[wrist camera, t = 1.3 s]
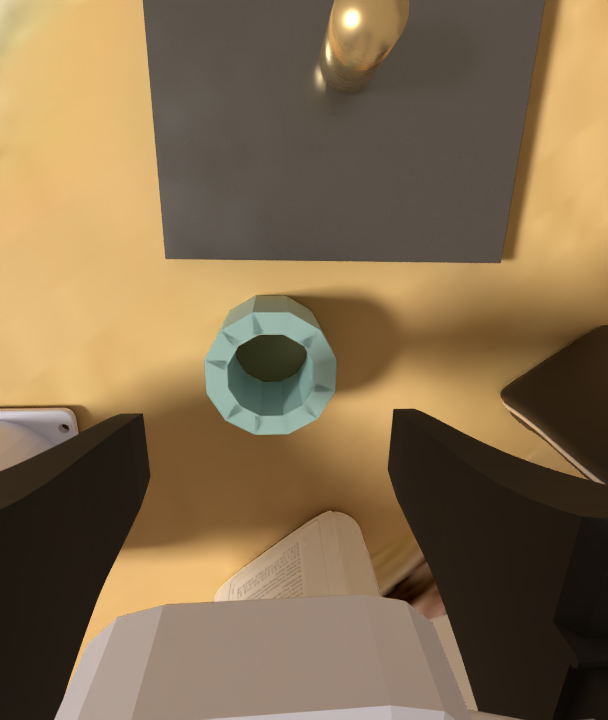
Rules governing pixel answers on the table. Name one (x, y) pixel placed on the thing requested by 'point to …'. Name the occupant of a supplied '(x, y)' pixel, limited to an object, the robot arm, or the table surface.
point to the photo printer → (308, 564)
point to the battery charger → (569, 403)
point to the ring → (279, 398)
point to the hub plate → (339, 126)
